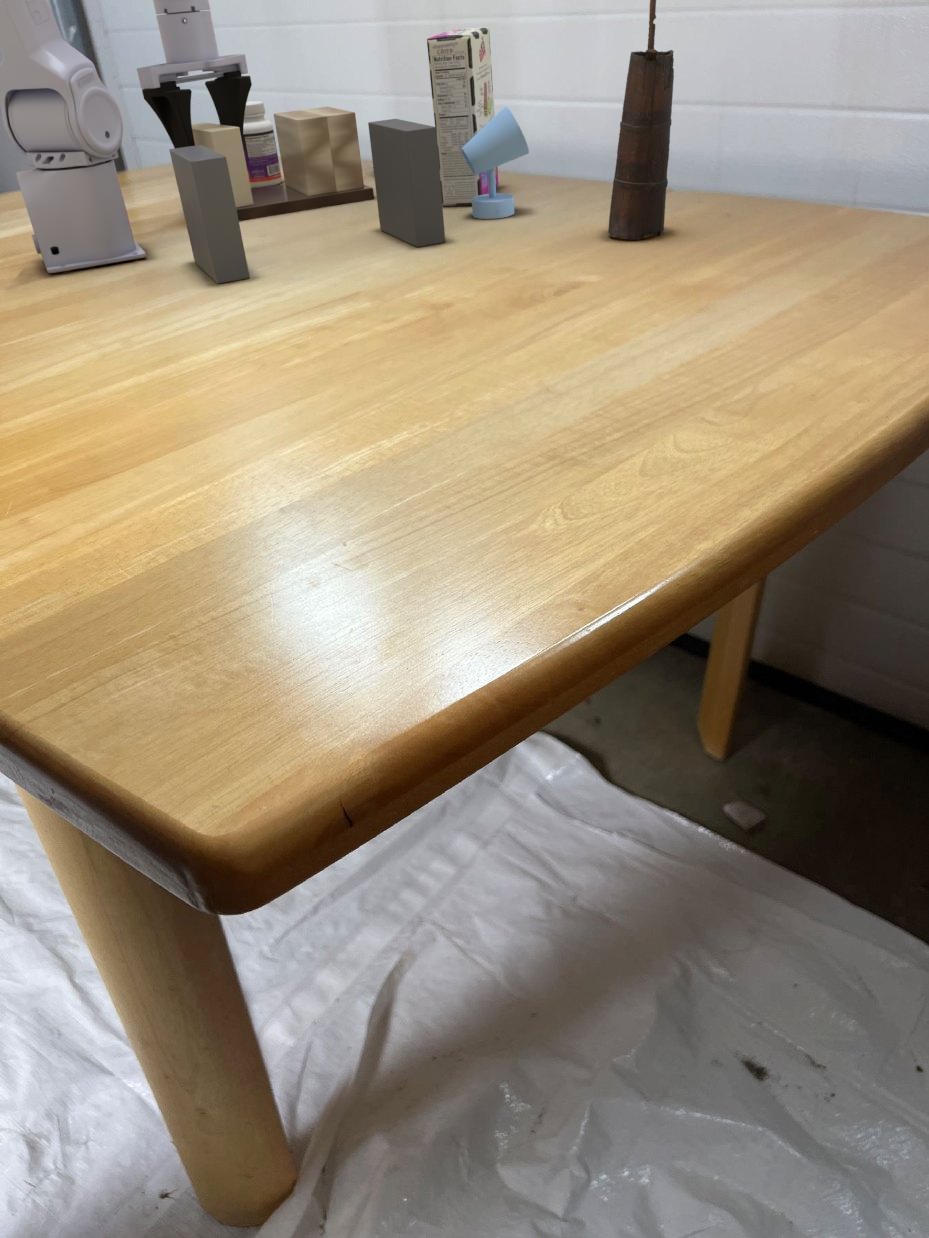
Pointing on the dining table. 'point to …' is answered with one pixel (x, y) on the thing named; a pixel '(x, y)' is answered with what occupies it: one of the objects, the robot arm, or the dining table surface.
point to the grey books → (399, 179)
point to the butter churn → (643, 144)
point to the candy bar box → (460, 107)
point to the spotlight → (494, 161)
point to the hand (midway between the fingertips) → (211, 153)
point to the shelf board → (313, 164)
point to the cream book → (227, 156)
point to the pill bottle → (260, 147)
